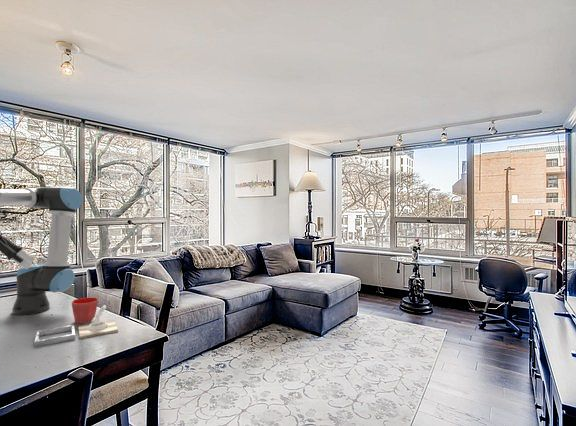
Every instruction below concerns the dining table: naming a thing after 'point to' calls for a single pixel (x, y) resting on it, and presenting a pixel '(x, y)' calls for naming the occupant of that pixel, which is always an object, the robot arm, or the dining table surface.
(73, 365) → the dining table surface
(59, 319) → the dining table surface
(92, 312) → the flower pot
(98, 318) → the hook
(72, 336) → the steel holder
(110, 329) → the birch pad
